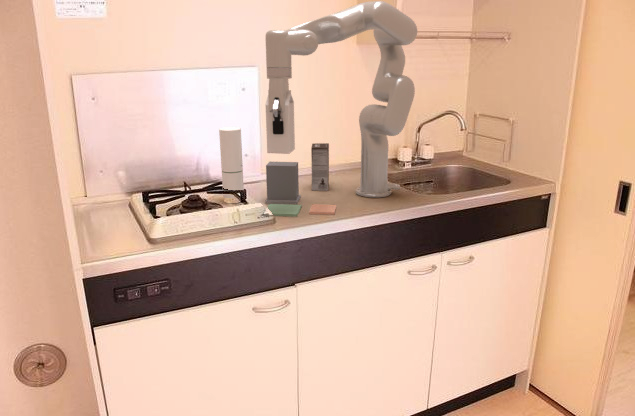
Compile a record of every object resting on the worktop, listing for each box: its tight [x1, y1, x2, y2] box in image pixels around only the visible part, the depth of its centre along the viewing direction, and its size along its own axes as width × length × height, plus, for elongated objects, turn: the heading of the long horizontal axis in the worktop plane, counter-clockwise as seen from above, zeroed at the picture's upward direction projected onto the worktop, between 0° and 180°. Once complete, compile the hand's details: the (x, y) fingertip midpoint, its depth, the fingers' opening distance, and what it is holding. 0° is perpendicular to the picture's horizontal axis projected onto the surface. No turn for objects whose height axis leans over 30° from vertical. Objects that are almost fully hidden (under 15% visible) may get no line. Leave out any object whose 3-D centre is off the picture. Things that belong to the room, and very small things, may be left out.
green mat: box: [266, 203, 303, 218], centre depth 174 cm, size 11×10×1 cm
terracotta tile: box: [308, 203, 337, 216], centre depth 174 cm, size 8×8×1 cm
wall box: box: [265, 161, 302, 205], centre depth 183 cm, size 11×8×13 cm
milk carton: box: [265, 89, 296, 155], centre depth 165 cm, size 7×7×19 cm
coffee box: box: [310, 142, 330, 192], centre depth 199 cm, size 9×6×16 cm
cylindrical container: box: [218, 126, 245, 198], centre depth 182 cm, size 7×7×25 cm
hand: (280, 131), depth 166 cm, fingers closed on milk carton, 7 cm apart
